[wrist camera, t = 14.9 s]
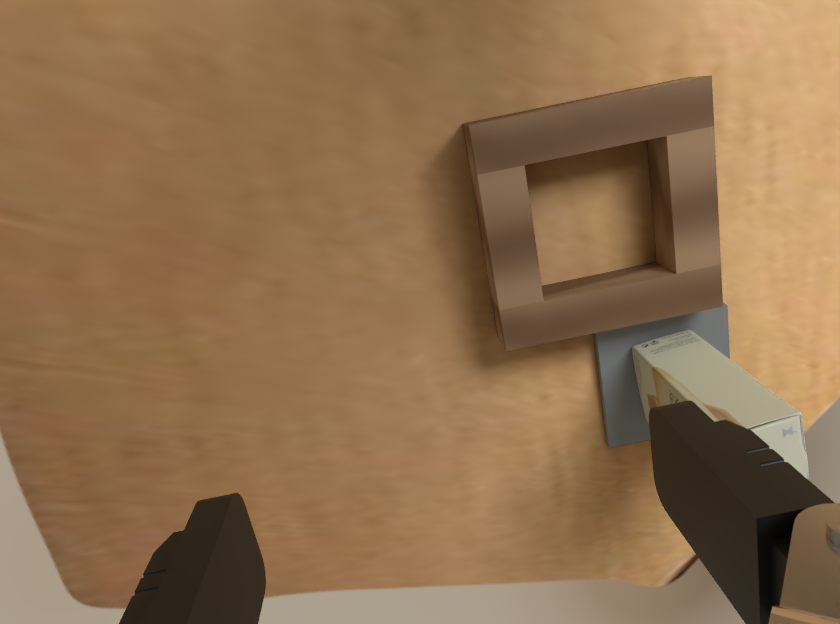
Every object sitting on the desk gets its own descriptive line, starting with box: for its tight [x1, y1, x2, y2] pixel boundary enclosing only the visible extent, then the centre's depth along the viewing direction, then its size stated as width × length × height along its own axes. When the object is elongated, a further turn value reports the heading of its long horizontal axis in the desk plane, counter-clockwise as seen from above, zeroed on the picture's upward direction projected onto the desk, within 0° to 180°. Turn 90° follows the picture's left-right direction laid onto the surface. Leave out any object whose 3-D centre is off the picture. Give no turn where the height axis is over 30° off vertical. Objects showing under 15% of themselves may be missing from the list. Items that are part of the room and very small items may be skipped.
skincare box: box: [632, 329, 809, 480], centre depth 39 cm, size 6×4×12 cm
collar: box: [462, 76, 723, 351], centre depth 40 cm, size 14×14×3 cm
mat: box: [594, 303, 730, 448], centre depth 45 cm, size 9×9×1 cm
